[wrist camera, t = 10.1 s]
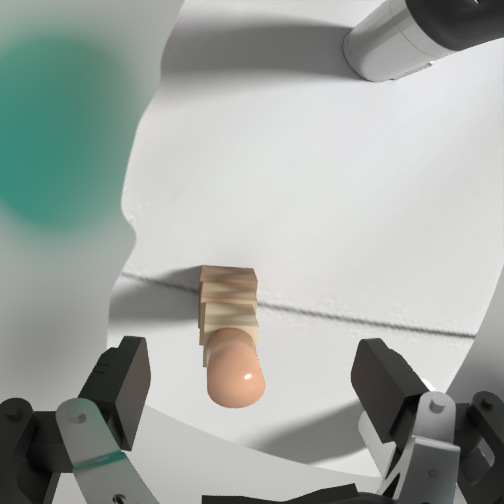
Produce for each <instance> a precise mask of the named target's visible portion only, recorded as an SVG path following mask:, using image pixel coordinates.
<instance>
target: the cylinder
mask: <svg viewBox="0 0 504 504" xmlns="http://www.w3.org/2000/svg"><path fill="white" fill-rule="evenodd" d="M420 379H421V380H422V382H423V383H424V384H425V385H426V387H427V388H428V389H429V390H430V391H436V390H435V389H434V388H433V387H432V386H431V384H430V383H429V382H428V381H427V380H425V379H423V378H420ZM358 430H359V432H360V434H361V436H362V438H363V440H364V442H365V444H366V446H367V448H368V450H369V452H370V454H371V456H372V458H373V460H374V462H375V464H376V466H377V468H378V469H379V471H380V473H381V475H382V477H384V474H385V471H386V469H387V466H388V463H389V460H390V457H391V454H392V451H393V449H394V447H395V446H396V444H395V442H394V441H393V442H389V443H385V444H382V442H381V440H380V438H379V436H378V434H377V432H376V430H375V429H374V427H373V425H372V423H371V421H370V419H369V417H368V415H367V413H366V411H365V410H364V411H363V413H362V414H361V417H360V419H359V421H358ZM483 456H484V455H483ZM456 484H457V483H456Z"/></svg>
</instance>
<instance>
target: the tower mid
mask: <svg viewBox="0 0 504 504" xmlns="http://www.w3.org/2000/svg"><path fill="white" fill-rule="evenodd" d="M206 302H219V303H236V304H253V307H254V311H255V315H256V308H257V298H256V295H255V291H254V288H253V285H252V284H239V283H223V282H209V281H203V287H202V295H201V313H200V341H199V345H204V325H205V311H206Z"/></svg>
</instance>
